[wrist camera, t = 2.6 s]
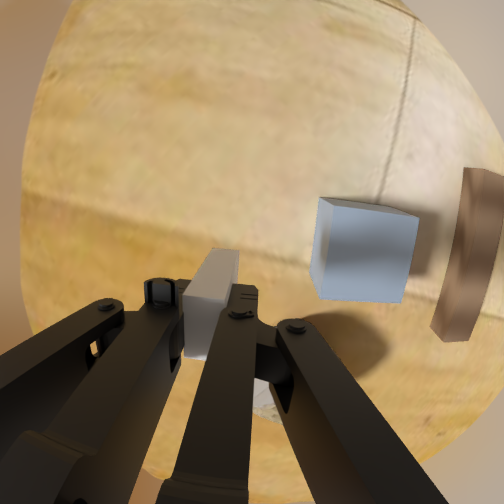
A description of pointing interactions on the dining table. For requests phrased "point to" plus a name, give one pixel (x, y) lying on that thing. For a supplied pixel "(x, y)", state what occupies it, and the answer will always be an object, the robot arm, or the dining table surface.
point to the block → (361, 251)
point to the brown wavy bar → (470, 255)
